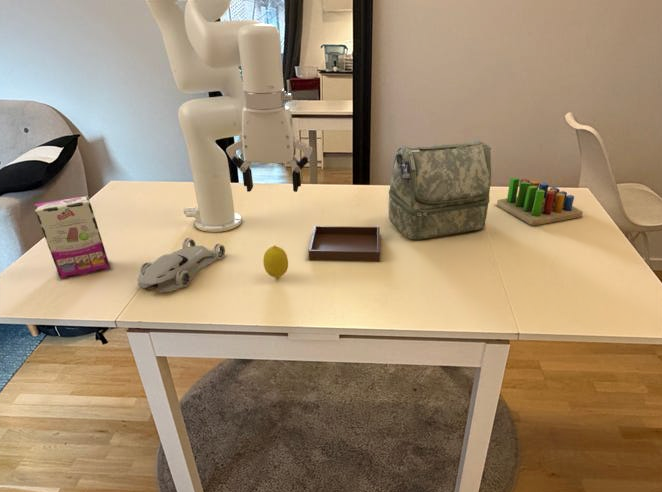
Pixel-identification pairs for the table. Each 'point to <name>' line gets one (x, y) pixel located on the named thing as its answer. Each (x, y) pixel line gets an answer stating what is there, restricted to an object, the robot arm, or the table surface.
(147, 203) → the table surface
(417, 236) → the lunch bag
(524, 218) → the peg board
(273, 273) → the lemon
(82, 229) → the candy bar box
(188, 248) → the car model
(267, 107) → the robot arm
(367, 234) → the walnut tray
